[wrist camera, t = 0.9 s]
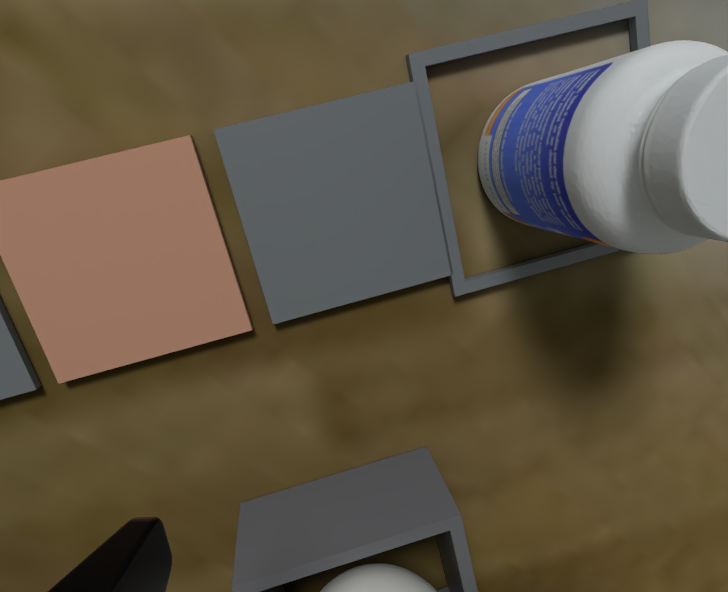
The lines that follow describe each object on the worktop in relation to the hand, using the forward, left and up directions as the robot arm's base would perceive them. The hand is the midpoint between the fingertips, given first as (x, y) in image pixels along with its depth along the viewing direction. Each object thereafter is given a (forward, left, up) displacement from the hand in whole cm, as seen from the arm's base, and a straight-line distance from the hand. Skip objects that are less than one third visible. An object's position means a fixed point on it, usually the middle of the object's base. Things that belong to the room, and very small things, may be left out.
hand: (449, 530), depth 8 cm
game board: (+4, +3, -13) cm, 14 cm away
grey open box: (-11, +2, -13) cm, 17 cm away
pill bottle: (+4, -9, -13) cm, 16 cm away
